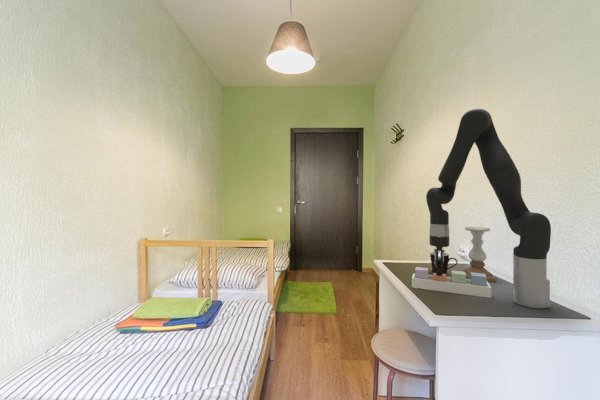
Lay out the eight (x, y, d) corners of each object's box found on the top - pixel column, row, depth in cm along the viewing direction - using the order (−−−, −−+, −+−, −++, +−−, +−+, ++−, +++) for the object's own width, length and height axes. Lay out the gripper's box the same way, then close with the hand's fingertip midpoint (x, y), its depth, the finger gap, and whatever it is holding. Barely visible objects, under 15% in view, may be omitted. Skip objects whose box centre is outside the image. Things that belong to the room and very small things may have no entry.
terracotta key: (446, 284, 117) (446, 274, 117) (446, 288, 113) (446, 277, 113) (433, 282, 120) (433, 272, 120) (432, 286, 115) (432, 275, 115)
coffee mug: (426, 272, 140) (426, 253, 140) (437, 270, 144) (437, 251, 144) (446, 278, 130) (446, 257, 130) (458, 276, 133) (458, 255, 133)
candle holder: (496, 282, 123) (496, 229, 123) (469, 281, 126) (469, 229, 125) (484, 275, 134) (484, 226, 134) (460, 274, 136) (460, 226, 136)
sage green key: (465, 282, 114) (464, 271, 114) (466, 286, 110) (466, 275, 110) (451, 280, 116) (451, 270, 116) (451, 284, 112) (451, 273, 112)
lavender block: (428, 278, 121) (428, 268, 120) (427, 281, 116) (427, 271, 116) (415, 276, 123) (415, 266, 123) (415, 280, 118) (414, 269, 118)
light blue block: (485, 284, 111) (485, 273, 111) (486, 288, 107) (486, 277, 106) (470, 283, 113) (470, 272, 113) (471, 286, 109) (471, 275, 109)
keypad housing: (487, 291, 112) (487, 281, 112) (491, 298, 105) (491, 287, 105) (413, 282, 125) (413, 273, 125) (411, 287, 118) (411, 278, 118)
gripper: (429, 232, 123) (429, 270, 124) (429, 236, 112) (429, 278, 112) (448, 233, 120) (448, 272, 120) (450, 237, 108) (449, 280, 108)
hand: (439, 275), depth 116 cm, fingers closed
